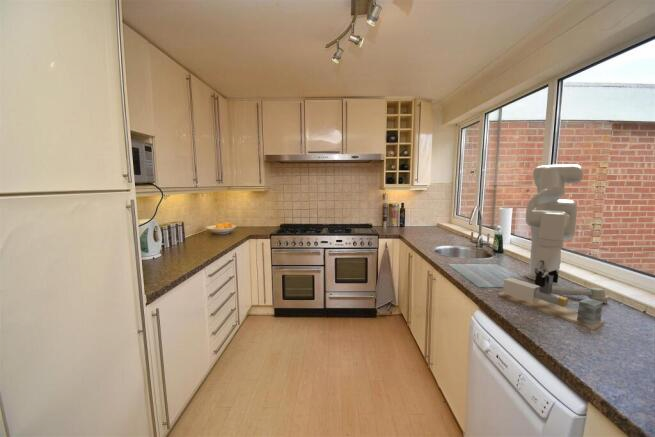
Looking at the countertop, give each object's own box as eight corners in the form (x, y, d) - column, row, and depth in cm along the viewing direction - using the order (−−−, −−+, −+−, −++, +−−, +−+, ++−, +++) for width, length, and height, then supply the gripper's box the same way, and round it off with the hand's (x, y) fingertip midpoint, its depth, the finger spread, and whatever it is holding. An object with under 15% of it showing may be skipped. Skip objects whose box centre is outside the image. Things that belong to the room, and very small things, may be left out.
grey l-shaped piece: (507, 288, 122) (508, 266, 121) (511, 287, 124) (512, 265, 122) (563, 307, 104) (566, 281, 102) (567, 305, 105) (570, 279, 104)
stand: (498, 295, 123) (499, 277, 122) (509, 291, 127) (511, 274, 126) (593, 329, 94) (595, 307, 93) (604, 323, 98) (607, 302, 97)
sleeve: (503, 293, 123) (504, 279, 122) (509, 290, 125) (510, 277, 124) (532, 303, 112) (533, 288, 112) (539, 300, 115) (540, 286, 114)
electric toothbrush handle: (532, 282, 128) (604, 284, 116) (534, 296, 129) (605, 299, 116) (534, 286, 124) (609, 289, 111) (536, 300, 124) (610, 304, 112)
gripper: (550, 239, 114) (546, 277, 117) (527, 243, 107) (524, 284, 109) (572, 242, 108) (568, 283, 110) (550, 247, 100) (545, 290, 102)
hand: (546, 283), depth 109 cm, fingers open, 9 cm apart
